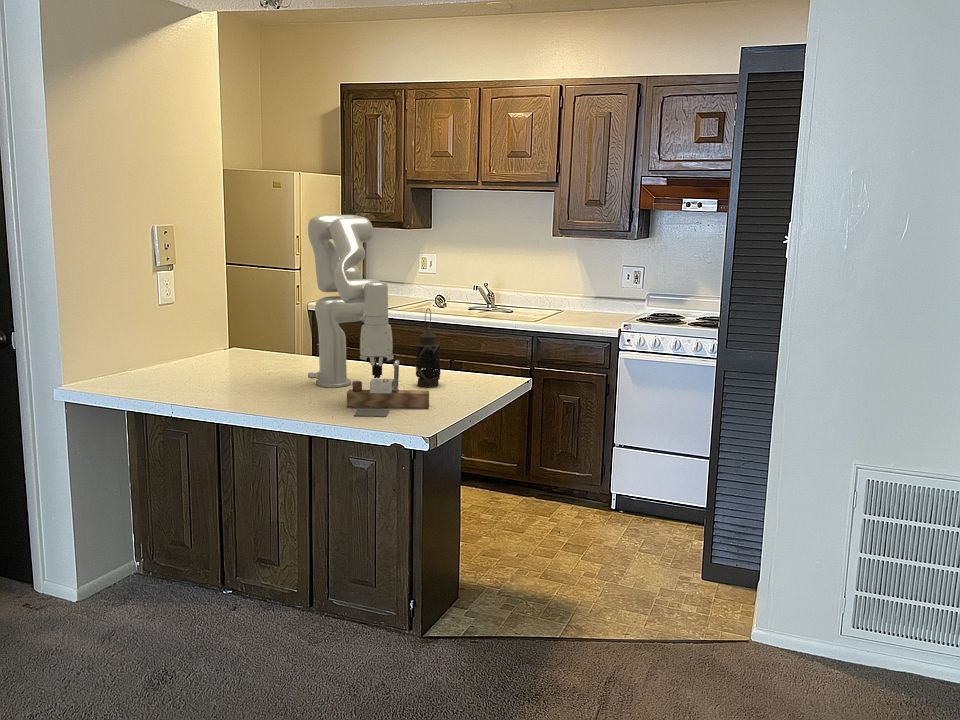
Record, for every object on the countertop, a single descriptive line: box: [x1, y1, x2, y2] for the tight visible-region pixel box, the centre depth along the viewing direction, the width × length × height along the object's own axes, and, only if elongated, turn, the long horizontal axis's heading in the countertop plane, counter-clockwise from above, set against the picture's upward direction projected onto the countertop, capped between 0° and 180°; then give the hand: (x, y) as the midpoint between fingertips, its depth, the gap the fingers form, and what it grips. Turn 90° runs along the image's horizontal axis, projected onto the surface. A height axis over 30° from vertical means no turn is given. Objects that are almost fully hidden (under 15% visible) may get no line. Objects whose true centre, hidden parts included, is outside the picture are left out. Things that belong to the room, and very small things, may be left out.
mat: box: [353, 409, 390, 418], centre depth 266 cm, size 10×7×1 cm
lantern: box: [414, 307, 441, 389], centre depth 303 cm, size 10×9×28 cm
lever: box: [392, 359, 401, 392], centre depth 273 cm, size 2×5×10 cm, turn 178°
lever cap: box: [369, 378, 394, 393], centre depth 274 cm, size 7×5×4 cm
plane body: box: [346, 380, 430, 410], centre depth 274 cm, size 26×4×8 cm, turn 89°
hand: (377, 377), depth 273 cm, fingers closed
